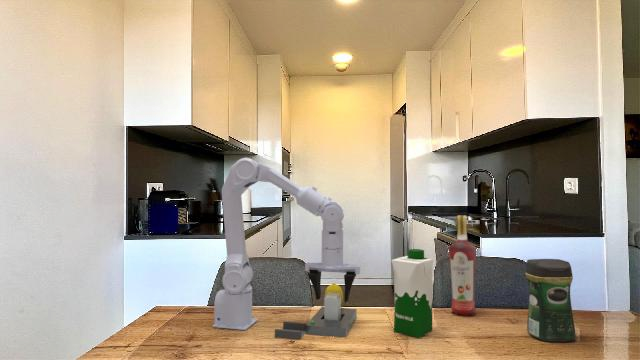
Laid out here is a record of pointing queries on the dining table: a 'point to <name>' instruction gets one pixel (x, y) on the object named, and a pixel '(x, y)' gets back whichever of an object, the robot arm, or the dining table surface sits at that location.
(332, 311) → the plug
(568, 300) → the coffee jar
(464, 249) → the liquor
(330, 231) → the robot arm
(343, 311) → the port panel
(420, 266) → the milk carton
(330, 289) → the lemon
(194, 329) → the dining table surface
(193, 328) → the dining table surface
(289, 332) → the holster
